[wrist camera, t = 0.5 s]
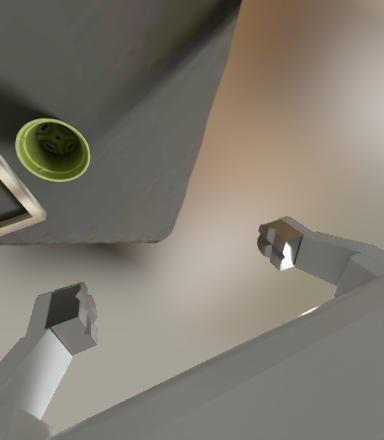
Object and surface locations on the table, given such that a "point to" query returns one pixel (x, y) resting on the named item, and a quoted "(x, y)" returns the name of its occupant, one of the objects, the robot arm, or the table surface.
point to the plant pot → (52, 159)
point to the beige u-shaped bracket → (26, 199)
